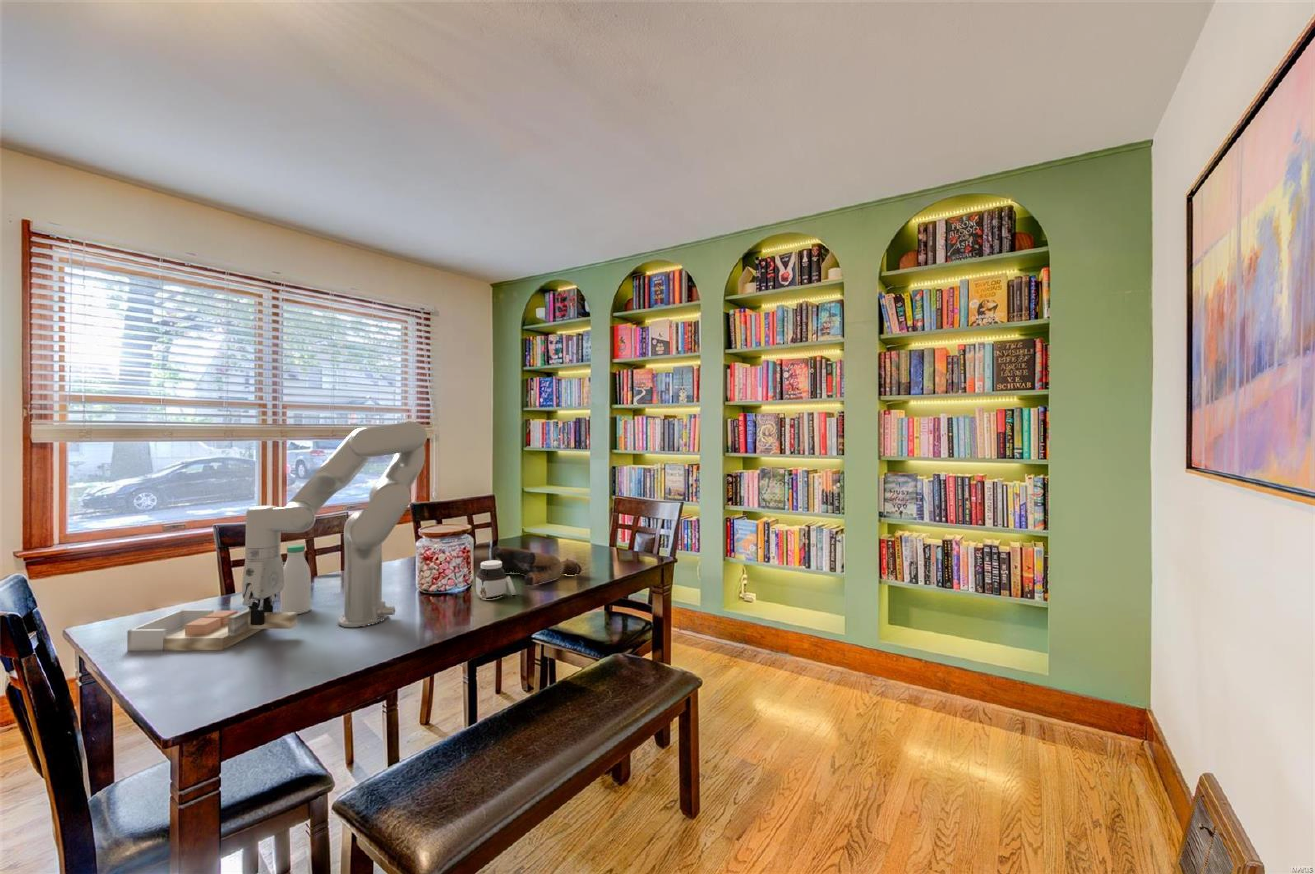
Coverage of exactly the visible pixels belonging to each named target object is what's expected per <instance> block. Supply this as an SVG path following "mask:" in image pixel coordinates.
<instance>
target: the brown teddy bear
mask: <svg viewBox="0 0 1315 874" xmlns="http://www.w3.org/2000/svg"><path fill="white" fill-rule="evenodd" d="M491 556H492V557H493V558H498V559H499V561H501V562H502V568H503V570H504V571H505V573H510V572H512V573H513V572H514V573H520V574H524V575H526V576H524V579H523V580H524V581H523V582H524V584H525V586H527V585H530V586H529V587H531V586H535V585H534V584H539V583H542V582H547V581H550V580H553V579H556V578H558V579H559V578H560V577H561V575H562V574H567V575H575V574H579V575H580V574H581V572H582V571H583V567H582V566H581V565H580V564H579V563H578V562H576V561H575V560H572V559H571V560H570V559H569V558H565V560H562V561H561V560H560V559H559V558H558V557H557V556H555V555H553V554H549V553H541V552H538V551H531V550H527V549H521V548H514V547H506V546H498V545H494V547H493V548H492V552H491ZM539 585H540V584H539Z"/></svg>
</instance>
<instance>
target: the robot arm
mask: <svg viewBox="0 0 1315 874" xmlns="http://www.w3.org/2000/svg"><path fill="white" fill-rule="evenodd" d="M427 440H428V432H427V430H426V428H425V427H424V426H423V425H422V424H421V423H419V422H416V421H412V420H411V421H409V420H408V421H401V422H399V423H390V424H385V425H377V426H363V427H358V428H356V429H354V430H353V431H351V433H349V434H348V435H347V436H346V438H345V439H343V441H342V442H341V443H340V444H339V446H337V448H336V449H335V450H334V451H333V453H332V454H331V455H330V456H328V458H327V459H326V460H325V461H324V462H323V464H322V465H320V467H319V468H317V470H316V471H315V472H314V474H313V475H311V477H310V478H309V480H308V481H306V483H305V484H304V485H303V486H302V487H301V488H300V489H299V490H298V491H297V493H295V494H294V496H293V497H292V498H291V499H290V500H289V501H288V503H286V505H284V506H283V507H279V506H277V505H269V504H268V505H256V506H252V507H251V506H250V507H249V508H248V509H247V510H246V513H245V543H244V544H245V545H244V546H245V551H244V553H245V554H244V565H243V566H244V567H243V572H242V581H241V597H242V599H243V601H242V605H243V606H246V607H247V608H249V610H251V619H250V624H251V625H263V624H264V617H265V612H274V605H275V604H276V603H275V602H276V598H277V595H278V594H280V591H282V590H283V588H284V570H283V567H284V563H283V558H282V554H281V545H282V544H281V541H282V540H281V536H282V533H290V534H300V533H305V532H307V531H309V530H310V529H312V527H313V526H314V525H315V522H316V514H317V513H318V512H319V511H320V509H321V508H322V507H323V506H324V505H325V504H326V503H327V502H328V501H329V500H330V498H332V497H333V496H334V495H335V494H336V493H338V492H339V491H341V490H343V489H345V488H346V487H347V486H348V485H349V484H350V483H351V482H352V481H353V480H354V478H355V477H356V476H357V475H358V474H359V472H361V470H362V469H363V468H364V467H365V466H366V465H367V463H369V461H370V460H371V459H372V458H375V457H382V456H388V455H394V457H393V458H392V460H391V462H390V463H389V464H388V466H387V468H386V470H385V471H384V472H383V473H382V474H381V476H380V477H379V479H378V480H377V481H376V483H375V484H374V486H373V487H372V488H371V489H370V491H369V496H368V499H369V500H368V503H366V505H365V507H364V508H363V510H359V511H356V512H354V513H352V514H351V515H350V516H349V517H348V518H347V519H346V521H345V522H344V526H343V527H344V528H343V543H344V545H343V547H344V601H343V602H344V605H343V606H344V607H343V608H344V612H343V613H344V614H343V615H341V616H340V617H339V618H338V619H337V624H338V626H340V625H341V627H344V628H360V627H359V626H362V627H365V626H364V625H368V624H372V623H376V624H379V623H380V622H379V621H381V620H383V619H385V618H386V617H387V618H388V616H394V615H395V613H396V608H395V606H393V605H392V606H390V605H389V606H387V605H386V601H383V600H382V599H383V596H382V595H383V546H382V544H383V543H384V542H385V540H386V539H387V538H388V537H389V535H390V534H391V533H392V531H393V530H394V528H395V527H396V526H397V524H398V522H399V521H400V520H401V518H402V517H403V515H404V514H405V512H406V511H407V509H408V507H409V504H410V502H411V494H410V493H411V492H410V489H411V487H412V485H413V484H414V483H415V481H416V479H417V477H418V476H419V475H420V473H421V471H422V469H423V467H424V464H425V459H426V452H425V444H426V443H427ZM387 615H388V616H387ZM387 618H386V619H387ZM386 619H385V620H386ZM383 621H384V620H383ZM378 622H379V623H378ZM381 622H382V621H381ZM372 625H373V624H372ZM368 626H369V625H368Z"/></svg>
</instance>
